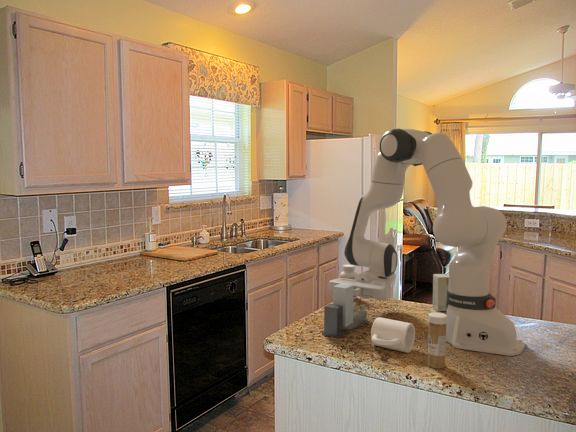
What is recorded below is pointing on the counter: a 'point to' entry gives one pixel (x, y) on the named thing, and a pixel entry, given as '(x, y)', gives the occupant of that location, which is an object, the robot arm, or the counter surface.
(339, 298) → the box sleeve
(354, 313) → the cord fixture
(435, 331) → the sprinkles bottle
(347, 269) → the supplement bottle
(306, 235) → the counter surface
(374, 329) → the mug
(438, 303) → the skincare box
